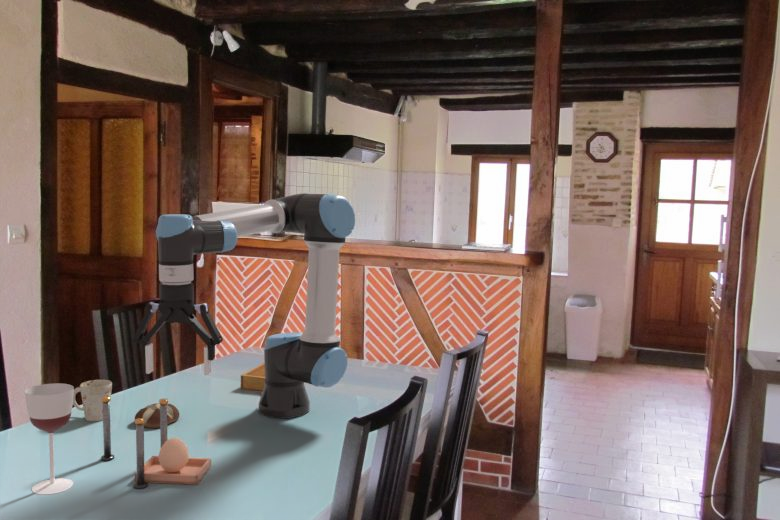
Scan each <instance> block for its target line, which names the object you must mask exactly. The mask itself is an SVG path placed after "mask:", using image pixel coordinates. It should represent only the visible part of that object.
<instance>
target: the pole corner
mask: <svg viewBox="0 0 780 520" xmlns="http://www.w3.org/2000/svg"><path fill="white" fill-rule="evenodd" d="M158 403H159V404H160V428H159V429H160V448H161V447H162V446H163V444H164V443H165V442H166V441H167V440H168V425H167V404H169V399H168V398H160V399H159V400H158Z"/></svg>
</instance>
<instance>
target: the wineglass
mask: <svg viewBox="0 0 780 520" xmlns="http://www.w3.org/2000/svg"><path fill="white" fill-rule="evenodd" d="M74 389H75V387H74V386H73V385H71V384H67V383H60V382H59V383H56V382H55V383H45V384H44V383H43V384H39V385H34V386H31V387H28V388H26V389H25V390H24V391H25V392H24V393H25V404H26V410H27V414H28V417H29V421H30V423H31V424H32V426H33V427H35V428H36V429H38V430H41V431H43V432H46V433H48V447H49V449H48V450H49V477H50V478H49V479H46V480H42V481H39V482H37V483H36V484H34V485H33V486H32V488H31V491H32V493H34V494H38V495H45V496H46V495H54V494H58V493H62V492H64V491H67V490H69V489H70V488H71V487H72V486H73V485H74V481H73V480H72V479H69V478H61V477H58V478H55V450H54V447H55V445H54V432H56V431H57V430H60V429H61V428H63V427H64V426H66V425H67V424H68V422H69V421H70V419H71V416H72V411H73V406H74V405H73V396H74Z"/></svg>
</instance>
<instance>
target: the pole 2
mask: <svg viewBox="0 0 780 520" xmlns="http://www.w3.org/2000/svg"><path fill="white" fill-rule="evenodd" d="M144 423H145V419H144V418H137V419H135V418H134V424H135V434H136V435H135V440H136V441H135V442H136V444H135V446H136V450H135V451H136V472H137V482H134V483H133V488H134V489H135V490H143V489H146V488H148V486H149V483H148V482H146V481H145V476H144V464H145V426H144Z"/></svg>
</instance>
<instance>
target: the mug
mask: <svg viewBox="0 0 780 520" xmlns="http://www.w3.org/2000/svg"><path fill="white" fill-rule="evenodd" d="M112 389H113V382H112V381H111V380H109V379H94V380H93V379H91V380H88V381H84V382H81V383H80V385H79V386H77V387H74V396H73V406H74V407H75V408H76V410H79V411H81V412H82V411H83V413H84V418H85V420H86V421H88V422H100V421H102V422H103V403H102V399H101V398H102V397H105V396H110V399H111V396H112ZM78 393H80V396H81V400H82V401H81V402H82V406H80V405H79V404H78V403H77V401H76V395H77V394H78Z"/></svg>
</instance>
